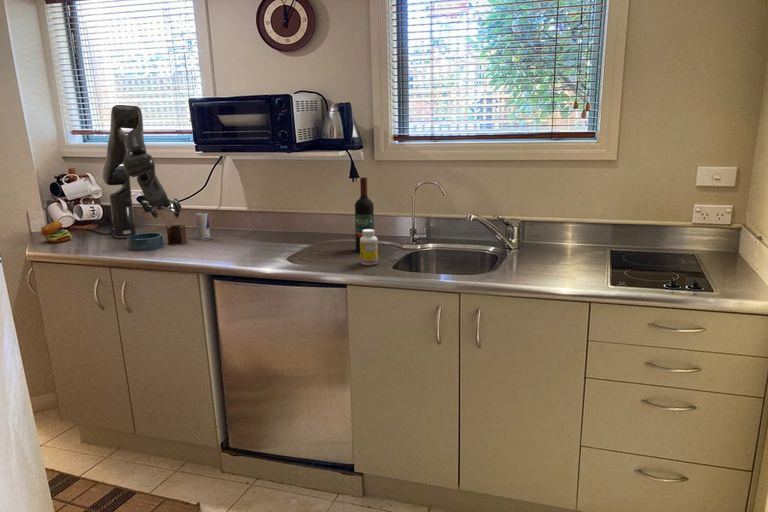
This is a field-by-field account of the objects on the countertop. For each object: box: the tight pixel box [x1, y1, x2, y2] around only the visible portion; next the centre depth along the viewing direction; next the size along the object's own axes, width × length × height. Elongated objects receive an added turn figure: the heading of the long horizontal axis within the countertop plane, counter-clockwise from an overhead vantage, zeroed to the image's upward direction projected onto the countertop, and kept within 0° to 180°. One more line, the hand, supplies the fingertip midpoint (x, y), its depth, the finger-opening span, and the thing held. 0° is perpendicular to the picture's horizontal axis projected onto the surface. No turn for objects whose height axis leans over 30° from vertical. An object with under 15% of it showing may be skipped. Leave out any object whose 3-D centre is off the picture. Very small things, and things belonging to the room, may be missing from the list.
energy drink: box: [195, 212, 211, 241], centre depth 256 cm, size 5×5×12 cm
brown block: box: [166, 224, 188, 246], centre depth 249 cm, size 6×6×8 cm
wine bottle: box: [354, 176, 375, 253], centre depth 232 cm, size 8×8×30 cm
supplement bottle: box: [359, 229, 379, 266], centre depth 214 cm, size 7×7×13 cm
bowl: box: [126, 232, 164, 252], centre depth 242 cm, size 14×14×6 cm
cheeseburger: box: [40, 220, 72, 244], centre depth 257 cm, size 10×11×10 cm
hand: (167, 216), depth 236 cm, fingers open, 8 cm apart
